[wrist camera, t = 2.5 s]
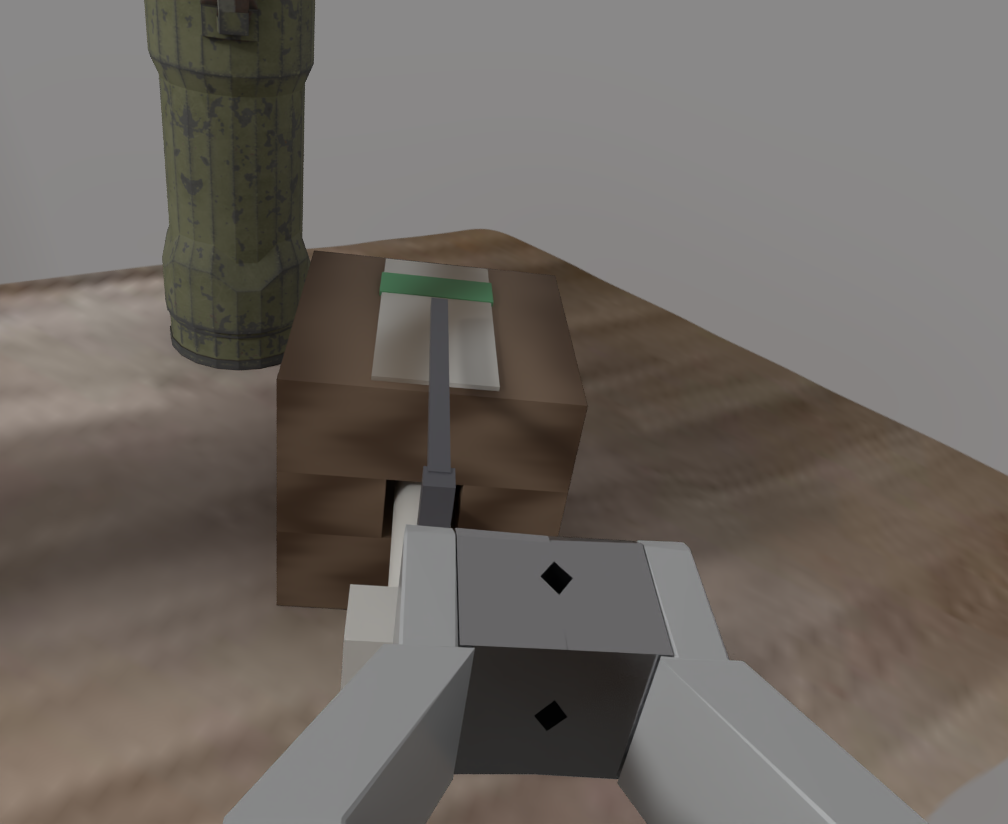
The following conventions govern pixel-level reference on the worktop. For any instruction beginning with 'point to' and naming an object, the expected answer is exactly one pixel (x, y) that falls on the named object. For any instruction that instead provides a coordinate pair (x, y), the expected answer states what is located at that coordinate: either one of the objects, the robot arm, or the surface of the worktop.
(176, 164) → the olive green tall piece
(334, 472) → the block
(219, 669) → the worktop surface
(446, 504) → the peg
